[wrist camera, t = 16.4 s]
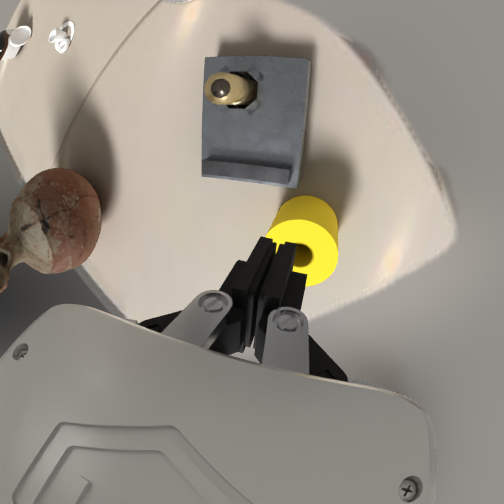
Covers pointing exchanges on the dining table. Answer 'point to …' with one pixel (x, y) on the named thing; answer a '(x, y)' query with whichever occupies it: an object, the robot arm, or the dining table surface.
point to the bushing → (230, 89)
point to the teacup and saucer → (62, 37)
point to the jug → (51, 224)
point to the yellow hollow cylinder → (308, 236)
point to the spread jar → (13, 41)
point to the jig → (258, 122)
